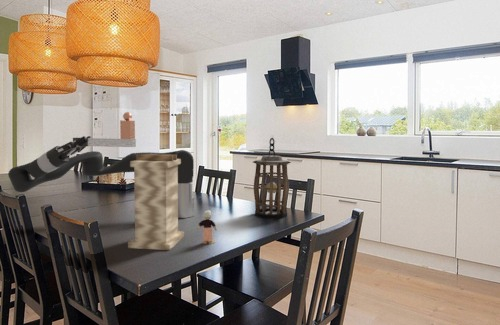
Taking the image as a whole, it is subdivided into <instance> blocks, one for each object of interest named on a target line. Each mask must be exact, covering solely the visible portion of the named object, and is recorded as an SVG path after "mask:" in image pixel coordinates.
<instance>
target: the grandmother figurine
mask: <svg viewBox="0 0 500 325" xmlns="http://www.w3.org/2000/svg"><path fill="white" fill-rule="evenodd" d="M202 217H203V218H204V219H203V220H201V221H200V222H198V225H197V229H198V230H200V229H201V227H202V228H203V229H202V239H203V240H202V241H203V242H202V244H205V245H206V244H209V245H212V244H215V243H216V242H215V240H214V234H213V229H214V231H215V232H216V231H218V228H217V226H216V225H217V224H216V223H215V222H214V221H213V220H211V218H212V211H211V210H205V211H204V213H203V214H202Z"/></svg>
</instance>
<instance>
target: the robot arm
mask: <svg viewBox="0 0 500 325" xmlns="http://www.w3.org/2000/svg"><path fill="white" fill-rule="evenodd" d="M79 138H80V139H78V140H76V141H73V140H72V141H71V140H70V141H69V142H67V143H65V144H63V145H61V146H60V145H56V146H54V147H53V148H51V149H49V150H47V151H46V152H44V153H43V154H41V155H40V156H38V158H36V159H34V160H33V161H31V162H28V163H25V164H22V165H17V166H14V167H12V168H10V169H9V171H8V173H7V175H8V178H9V180H10V182H11V185H12V187H13V189H14V190H15V192H17V193H25V192H28V191H29V190H31V189H33V188H35V187H37V186H39V185H40V184H43V183H47V182H50V181H55V180H57V179H60V178H62V177H64V176H65V175H67V173H68V172H70V171H71V169H73V168H74V167H76V165H78V164H80V163H81V167H82V168H81V169H82V174H83V175H84V176H86V177H96V176H97V177H99V176H104V175H111V174H121V173H134V167H130V161H135V160H136V155H141V154H165V155H177V159H181V164H179V165H178V219H179V218H180V219H186V218H187V219H188V218H191V217H195V196H194V194H193V191H194V190H193V186H194V185H193V184H194V168H195V167H194V164H195V163H194V162H195V161H194V157H193V155H192V153H191V152H189V151H188V150H184V149H180V150H176V151H175V150H174V151H169V152H151V151H149V152H148V151H147V152H132V153H130V154H127V155H126V156H124V157H123V158H121V159H120V160H119V161H117V162H115V163H113V164H111V165H107V166H104V160H103V154H102V153H101V152H100V151H95V150H93V151H87V152H82V151H83V150H84V149H86V147H87V146H80V145H82V144H83V143H85V142H87V139H86V138H92V136H85V135H84V136H81V137H79ZM81 152H82V153H81ZM76 153H80V154H76ZM75 154H76V155H75ZM73 155H74V156H73ZM71 156H72V157H71ZM32 177H33V178H32Z"/></svg>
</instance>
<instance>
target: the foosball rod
mask: <svg viewBox="0 0 500 325" xmlns="http://www.w3.org/2000/svg"><path fill="white" fill-rule="evenodd" d="M122 117H123V119H124V120H120V121H119V123H120V124H119V126H120V128H119V130H120V132H119V134H120V135H119V136H120V137H119V138H111V137H110V138H107V137H105V138H104V137H102V138H101V137H96V138H94V137H91V138H86V139H87V142H85V143H83V144H82V145H80V146H86V147H107V148H108V147H109V148H110V147H113V148H135V147H136V142H137V139H136V122H135V120H132V117H133V115H132V113H131V112H128V111H126V112H124V113H123V114H122ZM80 138H81V137H72V142H73V141H76V140H78V139H80Z"/></svg>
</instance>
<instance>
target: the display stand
mask: <svg viewBox="0 0 500 325" xmlns="http://www.w3.org/2000/svg"><path fill="white" fill-rule="evenodd" d="M179 164H181V159H177V155H165V154H141V155H136V160H135V161H130V167H134V172H133V173H134V175H133V176H134V177H133V178H134V180H133V182H134V183H133V184H134V186H133V187H134V238H132V239H131V240H130V241H129V242H127V249H138V250H140V249H141V250H159V251H161V250H162V251H170V250H172V249H173V248H174V247H175V246H176V245H177V244H178V243H179V242H180V241H181V240H182V239H183V238H184V237H185V231H183V230H181V231H180V230H179V218H178V165H179Z"/></svg>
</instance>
